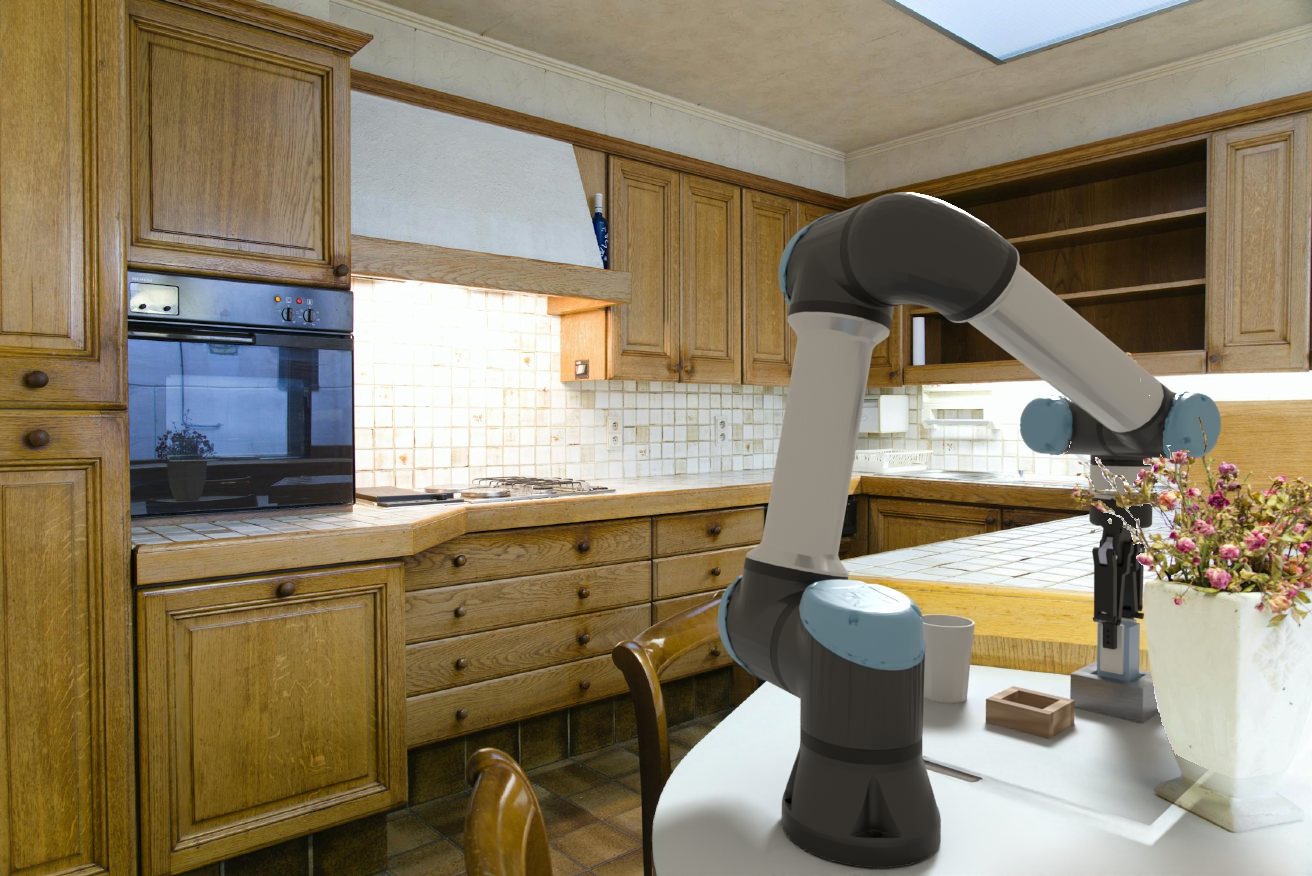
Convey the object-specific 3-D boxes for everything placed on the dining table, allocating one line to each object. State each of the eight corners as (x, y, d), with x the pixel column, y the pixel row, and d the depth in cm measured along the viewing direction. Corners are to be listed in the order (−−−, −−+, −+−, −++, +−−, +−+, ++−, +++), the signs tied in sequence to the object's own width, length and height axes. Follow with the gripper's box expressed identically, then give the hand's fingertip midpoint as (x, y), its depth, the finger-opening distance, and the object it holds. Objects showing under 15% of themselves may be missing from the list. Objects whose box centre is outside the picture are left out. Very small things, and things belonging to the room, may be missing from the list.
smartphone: (885, 730, 111) (1001, 761, 101) (885, 736, 111) (1001, 768, 101) (855, 745, 106) (974, 780, 95) (855, 751, 106) (974, 786, 95)
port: (1142, 727, 111) (1143, 688, 111) (1070, 709, 118) (1070, 673, 118) (1164, 711, 117) (1165, 674, 117) (1094, 695, 124) (1095, 661, 124)
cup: (982, 714, 118) (983, 627, 118) (923, 714, 118) (924, 626, 118) (962, 696, 126) (963, 614, 126) (907, 695, 126) (908, 613, 126)
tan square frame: (1048, 742, 105) (1049, 714, 105) (985, 725, 111) (985, 698, 111) (1074, 727, 111) (1074, 700, 111) (1012, 711, 117) (1013, 686, 117)
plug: (1128, 702, 115) (1129, 627, 114) (1096, 695, 117) (1097, 622, 117) (1138, 696, 117) (1139, 623, 117) (1107, 689, 120) (1108, 618, 120)
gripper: (1128, 502, 108) (1125, 687, 109) (1171, 495, 120) (1168, 662, 121) (1067, 498, 114) (1064, 674, 114) (1113, 492, 126) (1111, 651, 126)
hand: (1117, 668), depth 117 cm, fingers closed on plug, 4 cm apart
